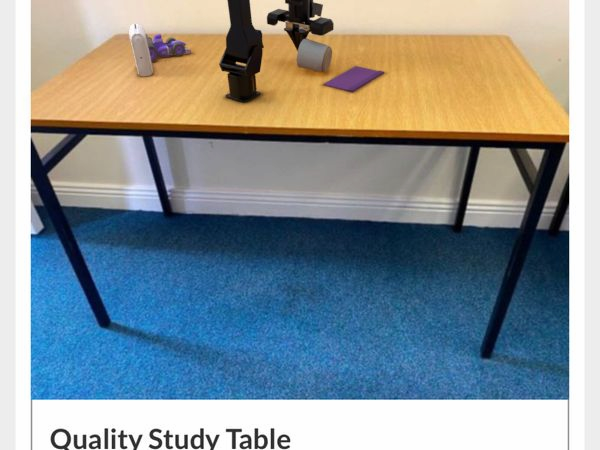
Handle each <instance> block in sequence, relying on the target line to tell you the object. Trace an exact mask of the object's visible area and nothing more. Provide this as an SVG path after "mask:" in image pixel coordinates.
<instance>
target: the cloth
mask: <svg viewBox="0 0 600 450" xmlns="http://www.w3.org/2000/svg"><path fill="white" fill-rule="evenodd" d="M384 74H385V71H384V70H376V69H370V68H366V67H362V66H358V65H355V66H353V67H352V68H350V69H348V70H346V71H344V72H342V73H341V74H339V75H337V76H334V77H333V78H332V79H330V80H328V81H326V82H324V83H323V84H322V85H323V86H326V87H329V88H333V89H336V90H340V91H345V92H349V93H351V94H352V93H355V92H356V91H358V90H360V89H361V88H362V87H365V86H366V85H368V84H369V83H370V82H372V81H374V80H376V79H377V78H379V77H381V76H382V75H384Z"/></svg>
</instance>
